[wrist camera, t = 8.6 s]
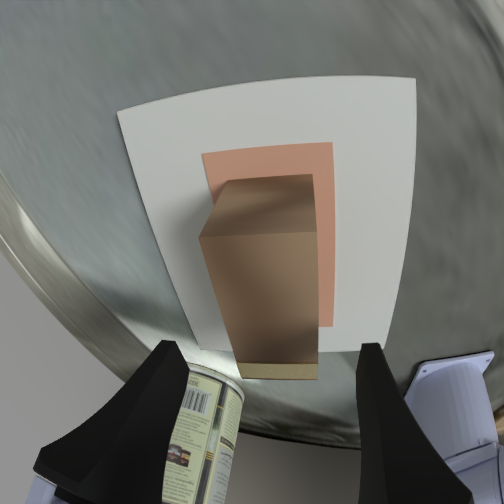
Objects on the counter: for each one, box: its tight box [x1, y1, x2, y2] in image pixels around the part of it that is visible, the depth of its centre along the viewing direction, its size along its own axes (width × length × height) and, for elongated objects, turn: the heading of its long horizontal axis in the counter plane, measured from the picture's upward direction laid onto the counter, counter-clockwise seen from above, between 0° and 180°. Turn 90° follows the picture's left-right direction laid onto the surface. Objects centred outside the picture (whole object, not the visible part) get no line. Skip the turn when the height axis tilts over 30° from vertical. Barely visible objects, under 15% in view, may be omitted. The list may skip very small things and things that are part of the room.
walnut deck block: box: [198, 174, 319, 380], centre depth 15 cm, size 4×9×5 cm, turn 9°
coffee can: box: [162, 363, 244, 504], centre depth 23 cm, size 10×10×14 cm
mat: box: [117, 75, 416, 352], centre depth 17 cm, size 18×14×1 cm
